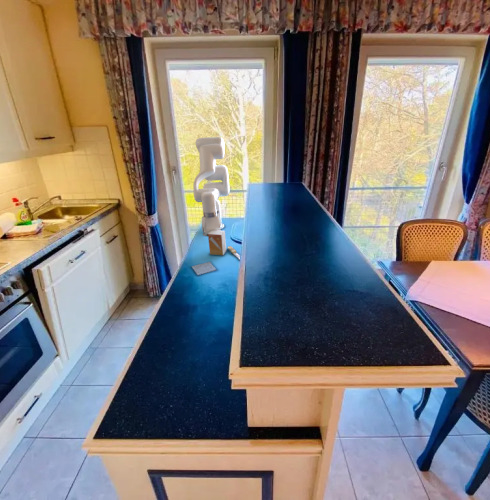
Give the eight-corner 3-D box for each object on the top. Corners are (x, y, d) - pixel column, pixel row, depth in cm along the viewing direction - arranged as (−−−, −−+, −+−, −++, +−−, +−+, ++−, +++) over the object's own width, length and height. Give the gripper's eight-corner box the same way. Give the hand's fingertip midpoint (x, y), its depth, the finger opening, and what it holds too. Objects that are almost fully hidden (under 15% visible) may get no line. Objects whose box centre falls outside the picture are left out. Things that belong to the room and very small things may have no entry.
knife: (227, 249, 166) (227, 246, 165) (230, 248, 167) (230, 245, 166) (239, 260, 152) (239, 258, 152) (243, 259, 153) (243, 257, 153)
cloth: (191, 267, 148) (191, 266, 148) (209, 262, 152) (209, 261, 152) (197, 275, 140) (197, 274, 140) (216, 270, 144) (216, 269, 144)
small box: (209, 254, 160) (207, 233, 154) (213, 250, 166) (211, 229, 160) (223, 255, 158) (221, 234, 152) (226, 251, 164) (225, 230, 158)
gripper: (220, 210, 163) (222, 238, 171) (195, 214, 157) (199, 244, 165) (224, 213, 157) (227, 243, 165) (199, 218, 151) (203, 248, 159)
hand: (213, 243), depth 165 cm, fingers closed
